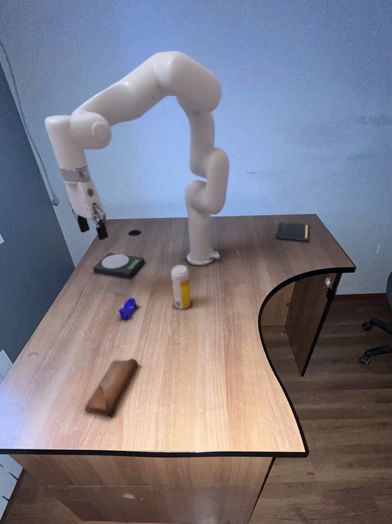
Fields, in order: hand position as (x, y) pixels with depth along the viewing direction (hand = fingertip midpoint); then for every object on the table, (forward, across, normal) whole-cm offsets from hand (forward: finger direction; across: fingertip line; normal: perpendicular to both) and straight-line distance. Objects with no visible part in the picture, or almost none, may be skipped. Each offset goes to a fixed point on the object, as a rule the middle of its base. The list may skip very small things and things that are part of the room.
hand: (94, 234), depth 87 cm
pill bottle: (+25, -26, -12) cm, 38 cm away
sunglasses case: (+25, -34, +28) cm, 51 cm away
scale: (+24, +15, -16) cm, 33 cm away
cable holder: (+25, -12, +3) cm, 28 cm away
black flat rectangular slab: (+24, -33, -94) cm, 102 cm away
